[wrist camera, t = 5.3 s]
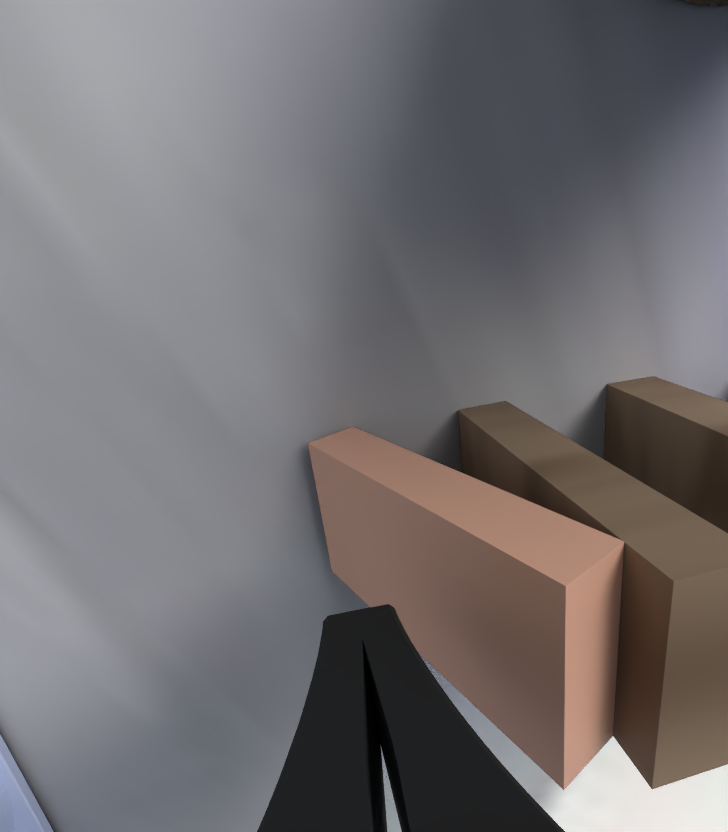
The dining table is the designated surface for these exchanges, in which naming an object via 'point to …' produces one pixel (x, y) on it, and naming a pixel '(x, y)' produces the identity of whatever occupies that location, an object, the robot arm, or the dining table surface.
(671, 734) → the domino
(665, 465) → the domino
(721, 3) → the pillar candle
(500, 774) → the robot arm
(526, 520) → the domino
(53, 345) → the dining table surface
